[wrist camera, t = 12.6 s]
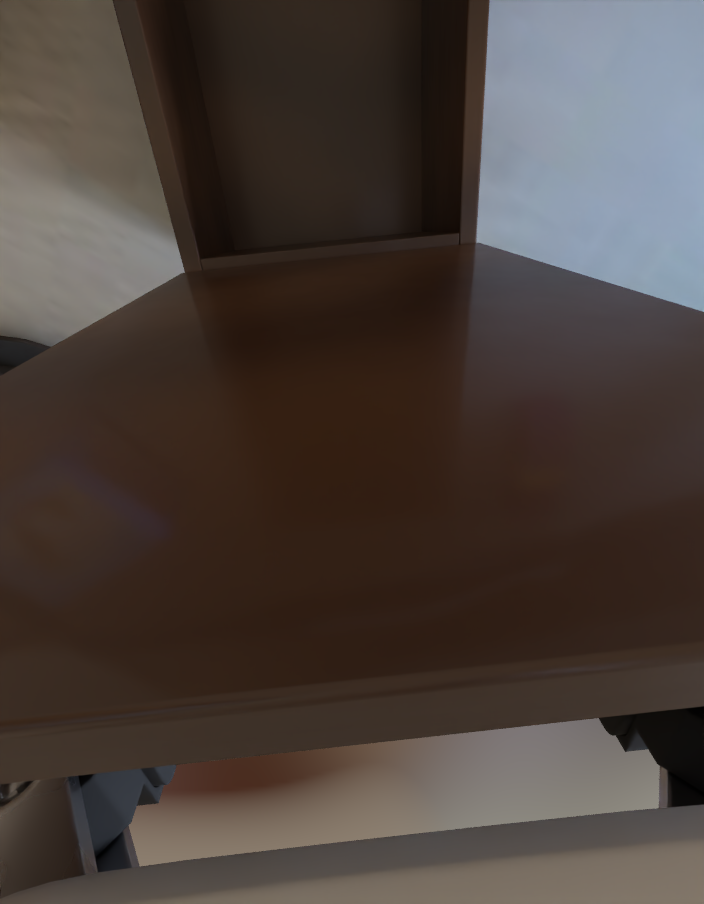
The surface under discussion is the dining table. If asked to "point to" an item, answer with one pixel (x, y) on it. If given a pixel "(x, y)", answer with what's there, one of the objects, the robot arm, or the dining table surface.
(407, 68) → the chest
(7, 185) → the dining table surface
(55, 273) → the dining table surface
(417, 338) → the lid
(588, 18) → the dining table surface
